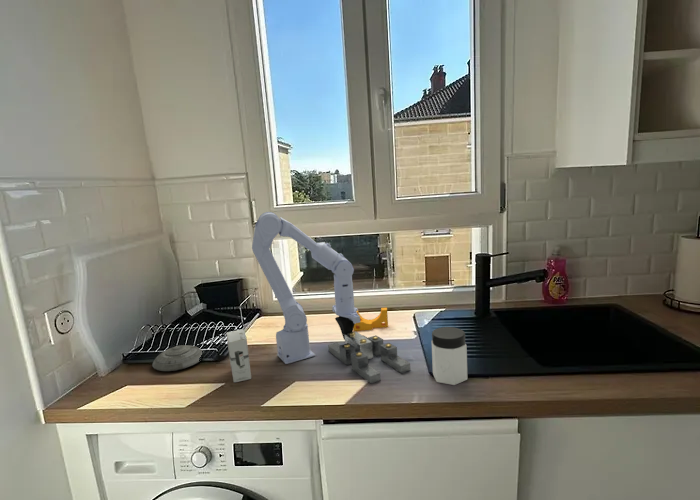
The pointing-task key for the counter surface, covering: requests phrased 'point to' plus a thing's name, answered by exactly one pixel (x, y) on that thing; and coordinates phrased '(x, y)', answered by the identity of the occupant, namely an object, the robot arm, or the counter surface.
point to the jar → (449, 355)
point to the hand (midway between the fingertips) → (347, 339)
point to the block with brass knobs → (359, 343)
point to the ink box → (238, 355)
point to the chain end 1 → (353, 349)
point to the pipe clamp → (372, 322)
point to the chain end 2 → (387, 356)
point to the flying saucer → (177, 358)
